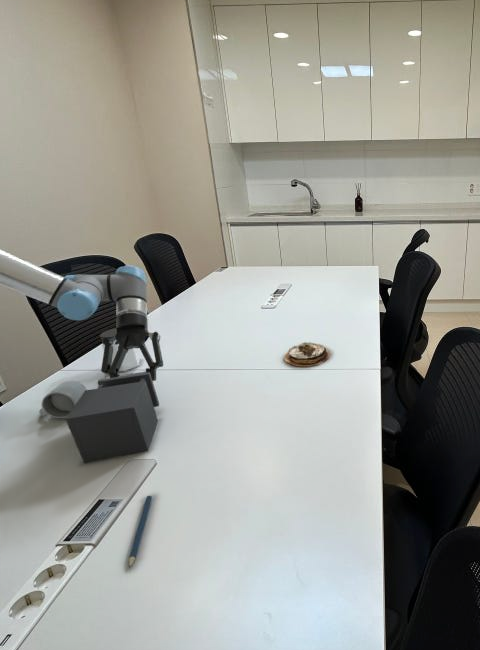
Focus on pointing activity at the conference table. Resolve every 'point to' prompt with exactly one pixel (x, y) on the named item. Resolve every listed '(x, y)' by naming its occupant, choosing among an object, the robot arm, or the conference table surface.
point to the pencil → (139, 531)
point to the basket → (132, 379)
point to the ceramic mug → (62, 399)
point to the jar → (130, 357)
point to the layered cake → (307, 354)
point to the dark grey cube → (113, 421)
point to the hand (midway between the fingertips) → (133, 395)
